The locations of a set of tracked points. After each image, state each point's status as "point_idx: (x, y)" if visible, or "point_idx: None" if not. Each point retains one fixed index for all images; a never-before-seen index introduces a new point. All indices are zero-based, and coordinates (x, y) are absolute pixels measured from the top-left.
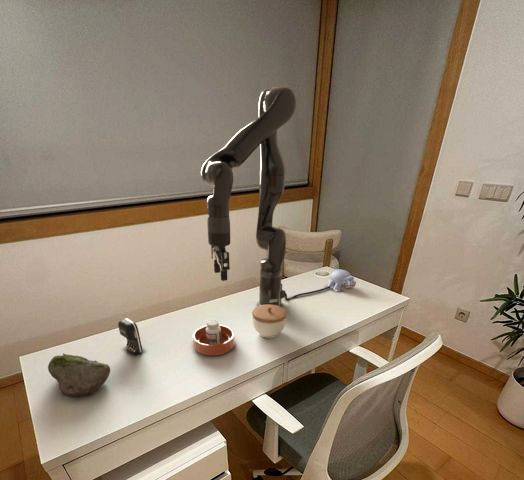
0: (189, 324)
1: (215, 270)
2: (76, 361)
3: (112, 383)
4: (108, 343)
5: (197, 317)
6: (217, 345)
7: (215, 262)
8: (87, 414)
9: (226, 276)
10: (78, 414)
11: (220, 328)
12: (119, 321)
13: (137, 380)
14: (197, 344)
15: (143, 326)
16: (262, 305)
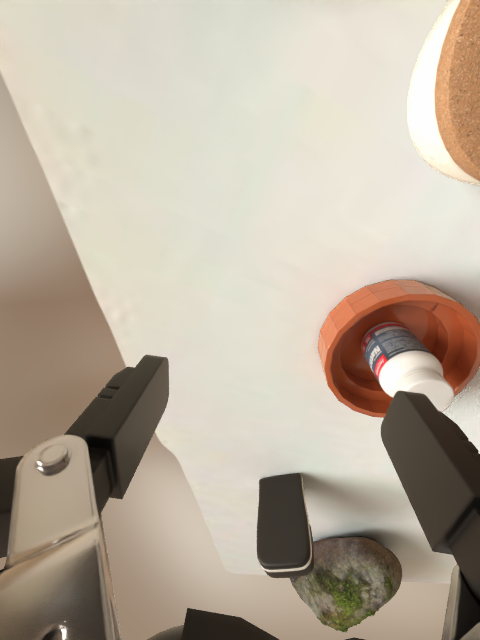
0: (218, 355)
1: (160, 412)
2: (367, 616)
3: (370, 522)
4: (227, 503)
5: (181, 319)
6: (471, 378)
7: (110, 493)
8: (423, 552)
9: (468, 443)
10: (413, 558)
11: (431, 357)
12: (270, 576)
13: (393, 498)
14: None
15: (180, 445)
16: (471, 38)
